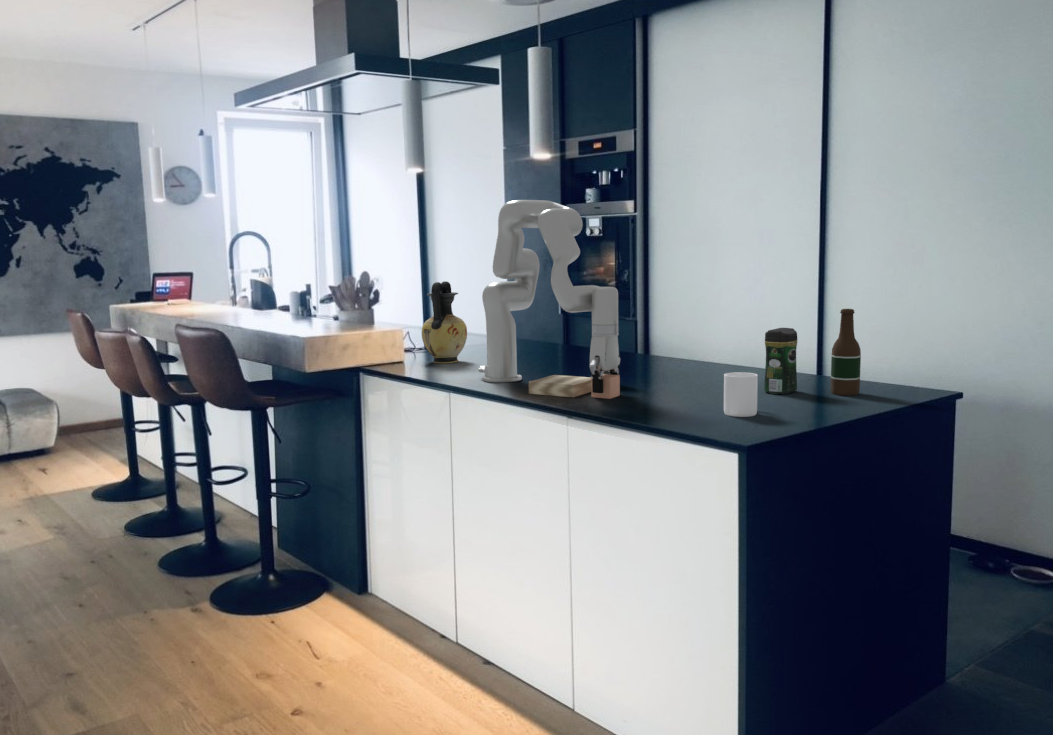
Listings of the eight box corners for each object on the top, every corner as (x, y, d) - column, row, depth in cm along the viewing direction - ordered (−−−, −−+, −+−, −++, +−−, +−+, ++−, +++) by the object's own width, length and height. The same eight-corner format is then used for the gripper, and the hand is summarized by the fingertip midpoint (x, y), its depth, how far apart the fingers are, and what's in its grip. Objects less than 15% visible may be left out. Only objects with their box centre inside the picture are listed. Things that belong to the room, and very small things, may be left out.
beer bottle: (859, 391, 264) (862, 308, 261) (859, 396, 257) (862, 310, 254) (830, 390, 267) (833, 307, 264) (830, 395, 260) (832, 310, 256)
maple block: (528, 395, 272) (528, 381, 272) (554, 387, 285) (554, 374, 285) (573, 398, 265) (573, 385, 264) (597, 391, 277) (597, 377, 277)
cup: (718, 415, 235) (718, 375, 233) (737, 407, 244) (738, 369, 243) (748, 418, 230) (749, 377, 228) (767, 410, 239) (768, 371, 238)
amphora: (427, 359, 355) (425, 280, 351) (471, 358, 354) (469, 280, 350) (418, 365, 338) (415, 283, 334) (463, 365, 336) (461, 282, 332)
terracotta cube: (591, 397, 264) (591, 376, 264) (601, 394, 269) (601, 373, 269) (610, 399, 261) (610, 378, 260) (619, 395, 266) (619, 375, 265)
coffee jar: (776, 388, 273) (777, 325, 270) (800, 391, 267) (802, 327, 265) (759, 392, 266) (760, 328, 263) (784, 395, 261) (785, 330, 258)
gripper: (607, 327, 272) (607, 385, 274) (578, 332, 257) (579, 394, 260) (630, 328, 268) (630, 386, 270) (602, 334, 253) (603, 395, 256)
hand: (605, 390), depth 265 cm, fingers open, 9 cm apart
